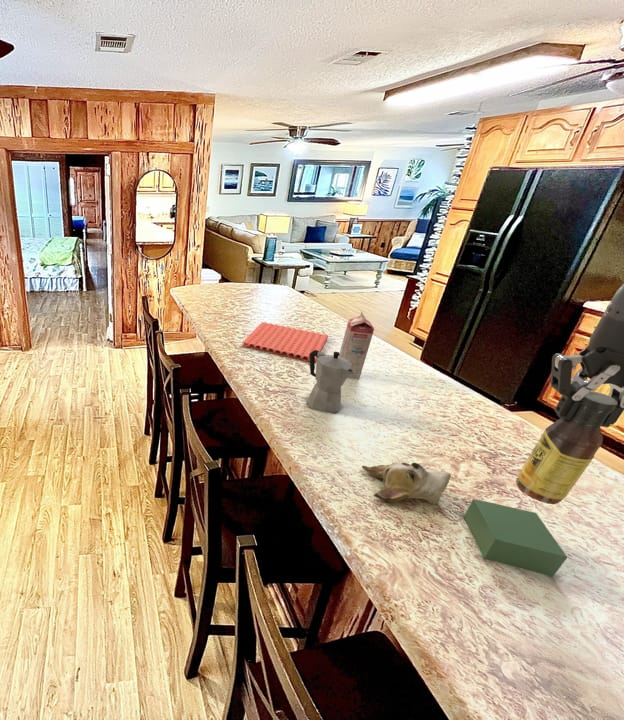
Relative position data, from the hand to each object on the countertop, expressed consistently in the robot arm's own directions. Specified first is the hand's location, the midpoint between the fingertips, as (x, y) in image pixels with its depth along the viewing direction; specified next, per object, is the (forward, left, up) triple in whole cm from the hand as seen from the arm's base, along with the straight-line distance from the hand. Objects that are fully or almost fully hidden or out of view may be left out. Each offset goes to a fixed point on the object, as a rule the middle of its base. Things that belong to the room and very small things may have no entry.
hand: (581, 420), depth 60 cm
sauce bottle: (0, 0, -15) cm, 15 cm away
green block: (0, 0, -29) cm, 29 cm away
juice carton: (+20, -67, -29) cm, 75 cm away
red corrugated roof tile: (+41, -88, -29) cm, 101 cm away
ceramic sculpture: (+15, -9, -29) cm, 34 cm away
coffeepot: (+30, -42, -29) cm, 59 cm away
